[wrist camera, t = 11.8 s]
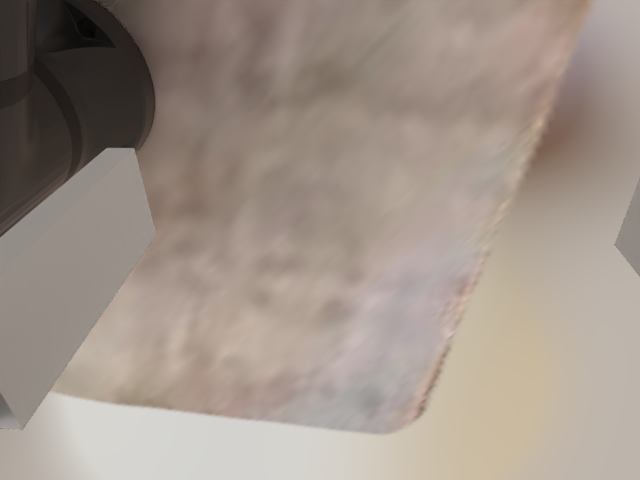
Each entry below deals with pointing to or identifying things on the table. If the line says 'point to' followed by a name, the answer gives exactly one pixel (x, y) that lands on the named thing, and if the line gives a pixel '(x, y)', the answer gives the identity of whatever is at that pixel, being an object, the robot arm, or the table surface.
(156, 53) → the table surface
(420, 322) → the table surface
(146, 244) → the robot arm
